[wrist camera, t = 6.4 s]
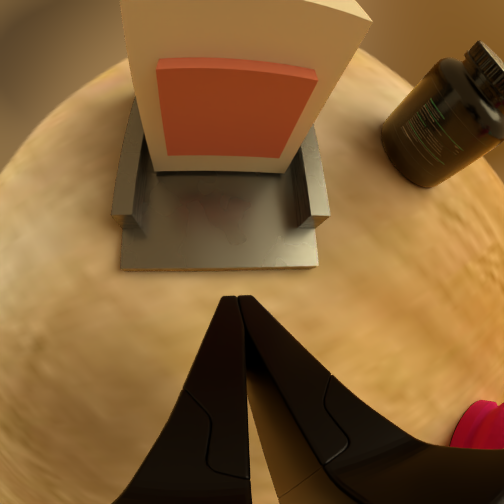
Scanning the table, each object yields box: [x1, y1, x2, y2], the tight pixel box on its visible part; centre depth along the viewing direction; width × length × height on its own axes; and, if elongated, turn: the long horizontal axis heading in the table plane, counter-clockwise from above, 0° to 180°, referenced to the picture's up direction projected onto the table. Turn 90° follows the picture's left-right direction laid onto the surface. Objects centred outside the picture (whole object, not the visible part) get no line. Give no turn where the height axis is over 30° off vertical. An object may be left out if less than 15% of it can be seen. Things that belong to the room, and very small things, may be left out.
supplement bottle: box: [381, 40, 504, 187], centre depth 13 cm, size 7×7×12 cm
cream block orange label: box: [120, 0, 373, 173], centre depth 10 cm, size 5×7×10 cm, turn 93°
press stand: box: [111, 95, 331, 271], centre depth 11 cm, size 13×10×10 cm
